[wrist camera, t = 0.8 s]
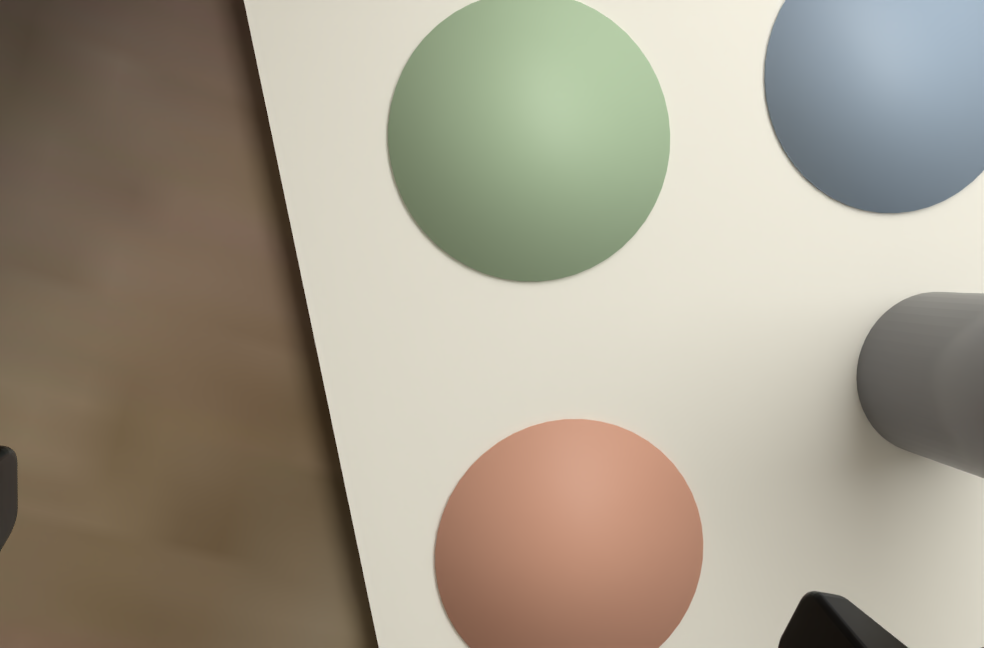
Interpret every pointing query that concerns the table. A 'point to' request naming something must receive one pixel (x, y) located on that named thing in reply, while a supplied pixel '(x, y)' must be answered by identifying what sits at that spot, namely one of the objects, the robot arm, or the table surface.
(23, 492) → the table surface
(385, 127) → the white square board
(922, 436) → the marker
